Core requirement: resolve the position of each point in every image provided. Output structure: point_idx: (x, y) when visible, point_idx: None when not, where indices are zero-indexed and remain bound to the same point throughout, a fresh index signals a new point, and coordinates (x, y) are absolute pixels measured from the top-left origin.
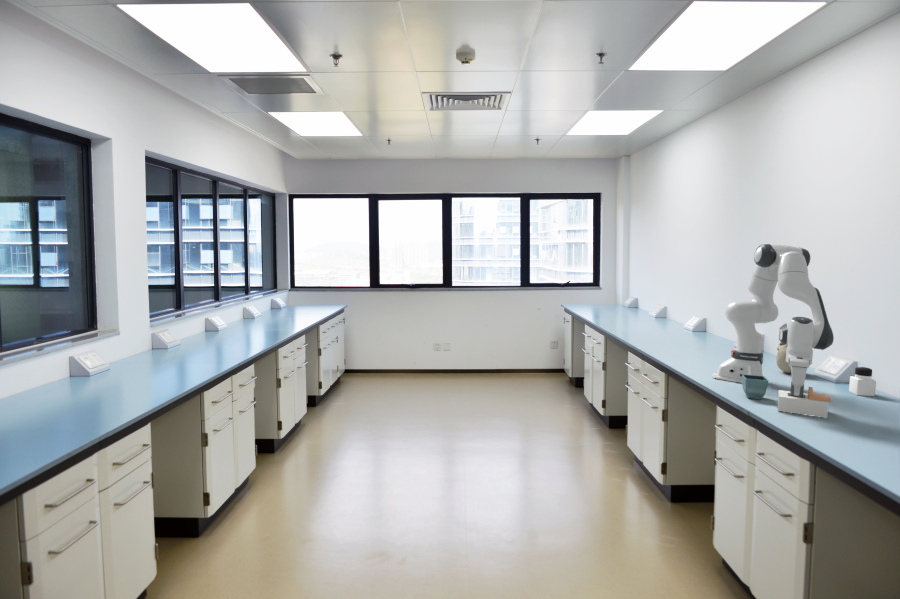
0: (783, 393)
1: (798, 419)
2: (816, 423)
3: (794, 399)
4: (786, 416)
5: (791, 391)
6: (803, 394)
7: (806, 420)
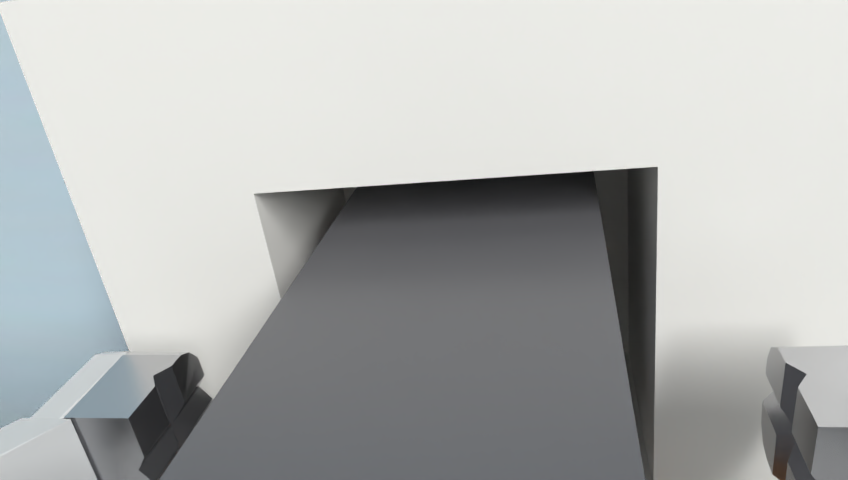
0: (474, 69)
1: (20, 253)
2: (36, 408)
3: (125, 308)
4: (24, 116)
5: (285, 316)
6: (690, 469)
7: (61, 328)
